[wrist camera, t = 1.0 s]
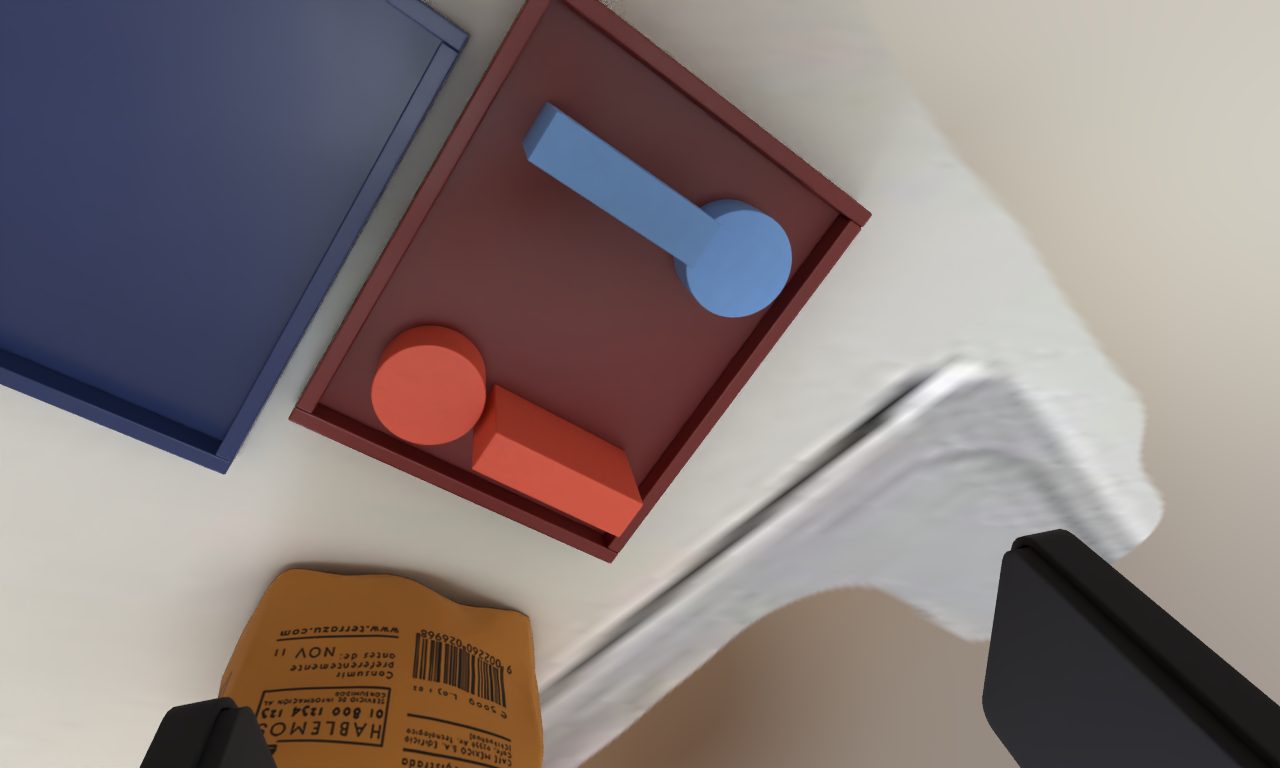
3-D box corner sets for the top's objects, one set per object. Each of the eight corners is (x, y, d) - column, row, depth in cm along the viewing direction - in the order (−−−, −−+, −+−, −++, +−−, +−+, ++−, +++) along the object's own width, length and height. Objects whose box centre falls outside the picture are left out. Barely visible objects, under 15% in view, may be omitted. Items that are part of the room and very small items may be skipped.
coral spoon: (640, 429, 30) (661, 481, 26) (589, 501, 31) (602, 561, 27) (410, 305, 26) (398, 347, 23) (359, 391, 27) (340, 443, 24)
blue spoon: (504, 172, 25) (506, 193, 22) (564, 70, 24) (578, 75, 21) (732, 318, 29) (767, 357, 25) (792, 235, 28) (837, 263, 24)
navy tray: (-25, -314, 19) (-63, -341, 17) (470, 35, 24) (469, 34, 22) (-221, 265, 23) (-262, 278, 21) (236, 456, 28) (224, 475, 27)
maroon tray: (545, -35, 23) (549, -39, 22) (856, 206, 28) (873, 214, 27) (296, 403, 27) (287, 420, 26) (606, 544, 33) (610, 564, 31)
